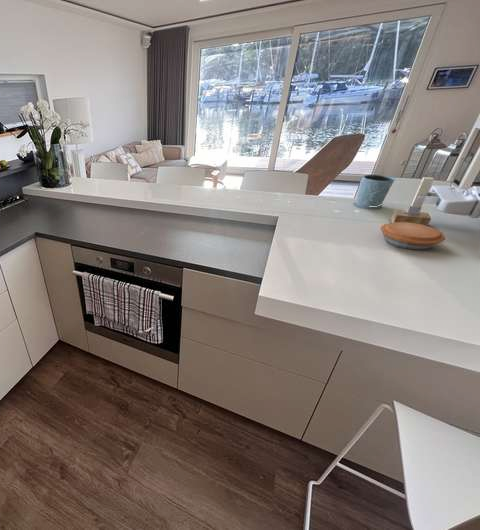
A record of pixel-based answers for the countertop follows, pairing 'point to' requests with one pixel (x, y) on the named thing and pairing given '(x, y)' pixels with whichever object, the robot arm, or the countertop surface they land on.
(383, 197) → the blue gray cup
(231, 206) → the countertop surface
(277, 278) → the countertop surface
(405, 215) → the knife stand
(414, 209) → the knife
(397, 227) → the pie
